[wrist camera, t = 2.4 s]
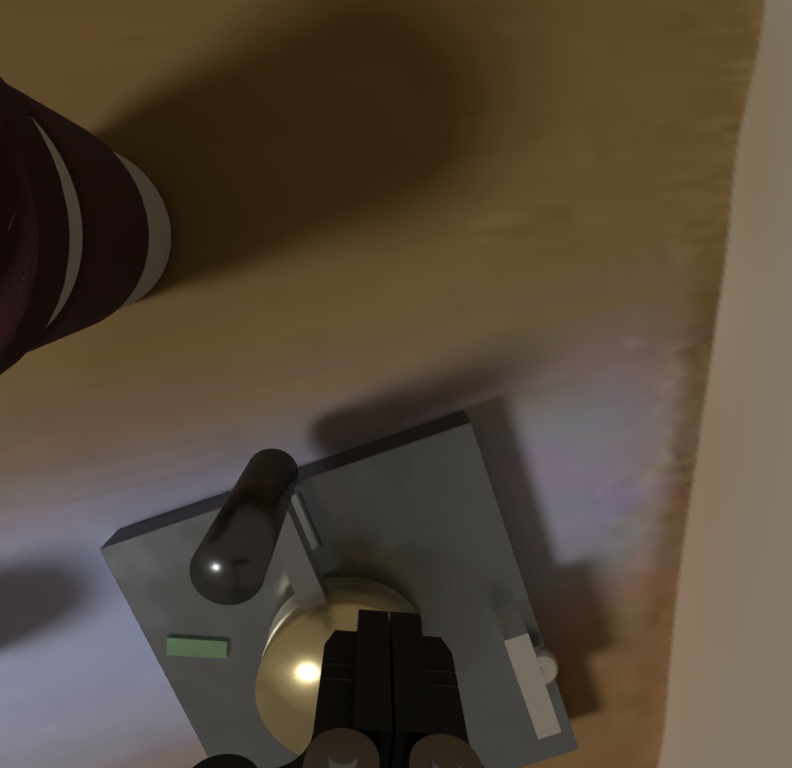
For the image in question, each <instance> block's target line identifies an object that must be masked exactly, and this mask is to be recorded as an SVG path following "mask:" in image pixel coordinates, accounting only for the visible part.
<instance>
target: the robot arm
mask: <svg viewBox="0 0 792 768" xmlns="http://www.w3.org/2000/svg"><path fill="white" fill-rule="evenodd" d="M193 768H257V766H256V765H255V764H254V763H253V762H252V761H250V760H249V759H248V758H245V757H243V756H240V755H237V754H220V755H215V756H212V757H209V758H207V759H205V760H203V761H201V762H200V763H198V764H197V765H195V766H194V767H193ZM277 768H485V767H484V766H483V765H482V764H481V761H480V758H479V757H478V755H477V753H476V752H475V751H474V750H473V748H472V747H471V746H470V744H469V740H468V735H467V730H466V724H465V719H464V714H463V708H462V703H461V698H460V692H459V688H458V682H457V676H456V674H455V666H454V660H453V655H452V652H451V651H450V649H449V648H448V647H447V645H446V644H445V642H444V641H443V640H442V638H441V637H432V636H423V632H422V624H421V616H420V613H407V612H393V611H390V614H388V611H378V610H364V609H359V611H358V620H357V629H356V631H343V630H335V631H334V632H333V634H332V635H331V636H330V638H329V639H328V640H327V642H326V643H325V644H324V652H323V660H322V667H321V675H320V683H319V690H318V698H317V706H316V713H315V721H314V729H313V735H312V739H311V741H310V743H309V745H308V747H307V748H306V749H305V751H304V752H303V753H302V754H301V755H300V756H299V757H297V758H296V759H295V760H293V761H292V762H290V763H288V764H286V765H284V766H281V767H277Z"/></svg>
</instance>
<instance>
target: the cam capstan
mask: <svg viewBox="0 0 792 768" xmlns="http://www.w3.org/2000/svg"><path fill="white" fill-rule="evenodd" d="M298 475H299V472H298V467H297V464H296V462H295V461H294V459H293V458H292V457H291V456H290V455H289V454H287V453H286V452H284V451H281V450H278V449H265V450H262V451H260V452H258V453H256V454H255V455H254V456H253V457H252V458H251V459H250V461H249V463H248V464H247V466H246V468H245V469H244V471H243V473H242V474H241V476H240V478H239V480H238V481H237V483H236V485H235V486H234V488H233V490H232V491H231V493H230V495H229V496H228V498H227V500H226V501H225V503H224V505H223V506H222V508H221V510H220V512H219V513H218V515H217V517H216V518H215V520H214V522H213V523H212V525H211V527H210V528H209V530H208V532H207V533H206V535H205V537H204V538H203V540H202V542H201V543H200V545H199V547H198V549H197V550H196V552H195V554H194V555H193V557H192V559H191V562H190V568H189V572H190V578H191V581H192V584H193V586H194V587H195V589H196V590H197V591H198V592H199V593H200V594H201V595H202V596H203V597H204V598H206V599H207V600H209V601H211V602H213V603H217V604H221V605H237V604H241V603H244V602H246V601H248V600H250V599H251V598H253V597H254V596H255V595H256V594H257V593H258V592H259V590H260V589H261V587H262V585H263V582H264V579H265V576H266V573H267V570H268V567H269V564H270V561H271V558H272V555H273V552H274V549H276V552H277V554H278V556H279V558H280V561H281V563H282V565H283V568H284V570H285V572H286V574H287V577H288V579H289V581H290V583H291V586H292V588H293V590H294V592H295V594H294V595H293V596H292V597H291V598H289V599H288V600H287V601H286V602H285V603H284V605H283V606H282V607H281V608H280V610H279V611H278V613H277V614H276V616H275V618H274V620H273V622H272V625H271V627H270V630H269V634H268V638H267V641H266V645H265V649H264V652H263V656H262V659H261V663H260V667H259V670H258V674H257V678H256V686H255V695H256V703H257V707H258V711H259V714H260V716H261V719H262V721H263V722H264V724H265V726H266V727H267V729H268V730H269V731H270V733H271V734H272V735H273V736H274V737H275V738H276V739H277V740H278V741H279V742H280V743H281V744H282V745H284V746H285V747H286V748H288V749H289V750H291V751H292V752H294V753H296V754H298V755H301V754H302V753H303V752H304V751H305V749H306V748H307V747H308V745H309V743H310V741H311V739H312V735H313V729H314V721H315V713H316V706H317V698H318V690H319V683H320V675H321V667H322V660H323V652H324V644H325V643H326V642H327V640H328V639H329V638H330V636H331V635H332V634H333V632H334V631H335V630H343V631H356V629H357V620H358V611H359V609H364V610H378V611H388V614H390V611H393V612H407V613H417V612H416V611H415V609H414V608H413V606H412V605H411V604H410V603H409V602H408V601H407V600H406V599H405V598H404V597H403V596H402V595H401V594H399V593H398V592H396V591H395V590H393V589H392V588H390V587H388V586H386V585H384V584H382V583H379V582H376V581H373V580H370V579H365V578H359V577H336V578H329V579H326V580H325V579H324V577H323V574H322V572H321V570H320V567H319V565H318V563H317V560H316V558H315V556H314V553H313V551H312V549H311V546H310V544H309V541H308V539H307V537H306V534H305V532H304V530H303V527H302V525H301V523H300V520H299V518H298V516H297V513H296V511H295V508H294V506H293V504H292V501H291V499H292V496H293V493H294V490H295V487H296V484H297V481H298ZM421 624H422V622H421ZM422 632H423V636H425V631H424V628H423V624H422Z"/></svg>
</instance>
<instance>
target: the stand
mask: <svg viewBox="0 0 792 768" xmlns="http://www.w3.org/2000/svg"><path fill="white" fill-rule="evenodd" d="M298 472H299V475H298V481H297V484H296V487H295V490H294V493H293V496H292V499H291V501H292V504H293V506H294V508H295V511H296V513H297V516H298V518H299V520H300V523H301V525H302V527H303V530H304V532H305V534H306V537H307V539H308V541H309V544H310V546H311V549H312V551H313V553H314V556H315V558H316V560H317V563H318V565H319V567H320V570H321V572H322V574H323V577H324V579H325V580H326V579H329V578H336V577H359V578H365V579H370V580H373V581H376V582H379V583H382V584H384V585H386V586H388V587H390V588H392V589H393V590H395V591H396V592H398V593H399V594H401V595H402V596H403V597H404V598H405V599H406V600H407V601H408V602H409V603H410V604H411V605H412V606H413V608H414V609H415V611H416V612H417V613H420V616H421V622H422V624H423V628H424V631H425V636H432V637H441V638H442V640H443V641H444V642H445V644H446V645H447V647H448V648H449V649H450V651H451V652H452V655H453V660H454V666H455V674H456V676H457V682H458V688H459V692H460V698H461V703H462V708H463V714H464V719H465V724H466V730H467V735H468V740H469V744H470V746H471V747H472V748H473V750H474V751H475V752H476V753H477V755H478V757H479V758H480V761H481V764H482V765H483V766H484V767H485V768H520V767H523V766H526V765H529V764H532V763H535V762H539V761H542V760H545V759H548V758H551V757H554V756H558V755H561V754H564V753H567V752H570V751H574V750H577V749H578V746H577V743H576V740H575V737H574V734H573V731H572V728H571V725H570V722H569V719H568V716H567V713H566V710H565V707H564V703H563V700H562V697H561V694H560V691H559V688H558V685H557V682H556V677H557V675H558V670H559V666H558V661H557V659H556V657H555V655H554V654H553V653H552V652H551V651H550V650H549V649H547V648H545V646H544V643H543V640H542V637H541V634H540V631H539V628H538V625H537V622H536V619H535V616H534V613H533V610H532V607H531V604H530V601H529V597H528V594H527V591H526V588H525V585H524V582H523V579H522V576H521V573H520V570H519V567H518V564H517V561H516V558H515V555H514V552H513V549H512V546H511V543H510V540H509V537H508V534H507V531H506V528H505V525H504V522H503V519H502V516H501V513H500V510H499V507H498V504H497V501H496V498H495V494H494V491H493V488H492V485H491V482H490V479H489V476H488V473H487V470H486V467H485V464H484V461H483V458H482V455H481V452H480V449H479V446H478V443H477V440H476V437H475V434H474V431H473V428H472V425H471V422H470V420H469V419H468V417H467V415H466V413H465V411H463V412H460V413H457V414H454V415H451V416H448V417H445V418H442V419H439V420H436V421H433V422H430V423H428V424H425V425H422V426H419V427H416V428H413V429H410V430H407V431H404V432H401V433H398V434H395V435H393V436H390V437H387V438H384V439H381V440H378V441H375V442H372V443H369V444H366V445H363V446H360V447H358V448H355V449H352V450H349V451H346V452H343V453H340V454H337V455H334V456H331V457H328V458H325V459H323V460H320V461H317V462H314V463H311V464H308V465H305V466H302V467H299V468H298ZM230 493H231V491H229V492H226V493H223V494H221V495H218V496H215V497H212V498H209V499H206V500H203V501H200V502H197V503H194V504H191V505H188V506H186V507H183V508H180V509H177V510H174V511H171V512H168V513H165V514H162V515H159V516H156V517H153V518H151V519H148V520H145V521H142V522H139V523H136V524H133V525H130V526H127V527H124V528H121V529H118V530H117V531H116V532H115V533H114V534H113V535H112V537H111V538H110V539H109V540H108V541H107V542H106V543H105V544H104V545H103V546H102V547H101V549H100V551H101V553H102V555H103V557H104V558H105V560H106V562H107V564H108V566H109V568H110V570H111V572H112V574H113V576H114V578H115V579H116V581H117V583H118V585H119V587H120V589H121V591H122V593H123V595H124V597H125V599H126V600H127V602H128V604H129V606H130V608H131V610H132V612H133V614H134V616H135V618H136V620H137V621H138V623H139V625H140V627H141V629H142V631H143V633H144V635H145V637H146V639H147V641H148V643H149V644H150V646H151V648H152V650H153V652H154V654H155V656H156V658H157V660H158V662H159V664H160V665H161V667H162V669H163V671H164V673H165V675H166V677H167V679H168V681H169V683H170V685H171V686H172V688H173V690H174V692H175V694H176V696H177V698H178V700H179V702H180V704H181V706H182V707H183V709H184V711H185V713H186V715H187V717H188V719H189V721H190V723H191V725H192V727H193V728H194V730H195V732H196V734H197V736H198V738H199V740H200V742H201V744H202V746H203V748H204V750H205V751H206V753H207V755H208V757H212V756H215V755H220V754H237V755H240V756H243V757H245V758H248V759H249V760H250V761H252V762H253V763H254V764H255V765H256V766H257V768H277V767H281V766H284V765H286V764H288V763H290V762H292V761H293V760H295V759H296V758H297V757H299V756H300V755H298V754H296V753H294V752H292V751H291V750H289V749H288V748H286V747H285V746H284V745H282V744H281V743H280V742H279V741H278V740H277V739H276V738H275V737H274V736H273V735H272V734H271V733H270V731H269V730H268V729H267V727H266V726H265V724H264V722H263V721H262V719H261V716H260V714H259V711H258V707H257V703H256V695H255V686H256V678H257V674H258V670H259V667H260V663H261V659H262V656H263V652H264V649H265V645H266V641H267V638H268V634H269V630H270V627H271V625H272V622H273V620H274V618H275V616H276V614H277V613H278V611H279V610H280V608H281V607H282V606H283V605H284V603H285V602H286V601H287V600H288V599H289V598H291V597H292V596H293V595H294V594H295V592H294V590H293V588H292V586H291V583H290V581H289V579H288V577H287V574H286V572H285V570H284V568H283V565H282V563H281V561H280V558H279V556H278V554H277V552H276V549H274V552H273V555H272V558H271V561H270V564H269V567H268V570H267V573H266V576H265V579H264V582H263V585H262V587H261V589H260V590H259V592H258V593H257V594H256V595H255V596H254V597H253V598H251V599H250V600H248V601H246V602H244V603H241V604H237V605H221V604H217V603H213V602H211V601H209V600H207V599H206V598H204V597H203V596H202V595H201V594H200V593H199V592H198V591H197V590H196V589H195V587H194V586H193V584H192V581H191V578H190V572H189V568H190V562H191V559H192V557H193V555H194V554H195V552H196V550H197V549H198V547H199V545H200V543H201V542H202V540H203V538H204V537H205V535H206V533H207V532H208V530H209V528H210V527H211V525H212V523H213V522H214V520H215V518H216V517H217V515H218V513H219V512H220V510H221V508H222V506H223V505H224V503H225V501H226V500H227V498H228V496H229V495H230Z"/></svg>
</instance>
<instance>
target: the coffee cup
mask: <svg viewBox="0 0 792 768" xmlns="http://www.w3.org/2000/svg"><path fill="white" fill-rule="evenodd" d="M170 249H171V227H170V221H169V216H168V213H167V210H166V207H165V205H164V202H163V200H162V198H161V196H160V195H159V193H158V191H157V189H156V188H155V186H154V185H153V184H152V182H151V181H150V180H149V178H148V177H147V176H146V175H145V174H144V173H143V172H142V171H141V170H140V169H139V168H138V167H137V166H135V165H134V164H133V163H132V162H130V161H129V160H127V159H126V158H124V157H122V156H121V155H119V154H117V153H115V152H114V151H112V150H111V149H110V148H109V147H107V146H106V145H105V144H104V143H103V142H102V141H101V140H99V139H98V138H97V137H95V136H94V135H92V134H91V133H90V132H88V131H87V130H85V129H84V128H82V127H80V126H78V125H77V124H75V123H73V122H72V121H70V120H68V119H66V118H65V117H63V116H61V115H60V114H58V113H56V112H54V111H53V110H51V109H49V108H48V107H46V106H44V105H42V104H41V103H39V102H37V101H36V100H34V99H32V98H30V97H29V96H27V95H25V94H24V93H22V92H20V91H18V90H17V89H15V88H13V87H11V86H10V85H8V84H6V83H5V82H4V80H3V79H2V78H1V77H0V374H2V373H3V372H4V371H6V370H7V369H8V368H10V367H11V366H12V365H14V364H15V363H16V362H17V361H19V360H20V359H21V358H22V357H23V356H24V354H25V353H27V352H29V351H32V350H34V349H37V348H39V347H41V346H44V345H46V344H49V343H51V342H53V341H56V340H58V339H61V338H63V337H65V336H68V335H70V334H73V333H75V332H77V331H80V330H82V329H84V328H87V327H89V326H91V325H94V324H96V323H98V322H100V321H102V320H103V319H105V318H106V317H108V316H109V315H111V314H112V313H114V312H115V311H116V310H117V309H120V308H122V307H125V306H127V305H129V304H132V303H134V302H135V301H137V300H139V299H140V298H141V297H143V296H144V295H145V294H146V293H148V292H149V291H150V290H151V289H152V288H153V287H154V285H155V284H156V283H157V281H158V280H159V278H160V277H161V275H162V274H163V271H164V269H165V267H166V264H167V262H168V259H169V254H170Z"/></svg>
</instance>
